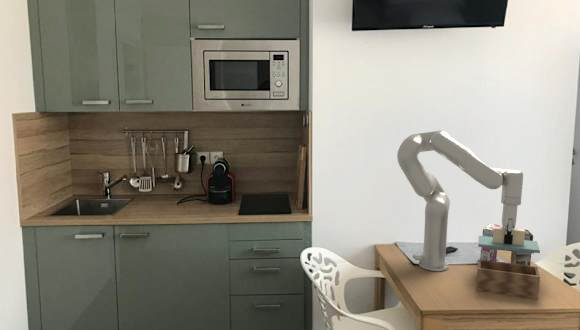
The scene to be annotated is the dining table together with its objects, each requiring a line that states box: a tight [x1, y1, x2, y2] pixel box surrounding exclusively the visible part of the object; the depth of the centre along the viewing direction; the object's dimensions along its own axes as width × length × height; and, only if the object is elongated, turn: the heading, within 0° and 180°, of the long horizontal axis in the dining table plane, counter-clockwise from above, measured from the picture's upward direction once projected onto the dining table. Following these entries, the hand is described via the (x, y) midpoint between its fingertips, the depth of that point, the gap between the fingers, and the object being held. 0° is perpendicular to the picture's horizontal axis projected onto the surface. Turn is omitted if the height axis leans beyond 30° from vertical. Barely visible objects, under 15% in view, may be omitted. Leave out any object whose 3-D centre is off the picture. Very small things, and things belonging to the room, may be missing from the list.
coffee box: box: [510, 229, 534, 266], centre depth 222 cm, size 9×6×16 cm
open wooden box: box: [475, 258, 541, 300], centre depth 199 cm, size 22×11×9 cm, turn 69°
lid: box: [477, 226, 541, 255], centre depth 210 cm, size 23×12×8 cm, turn 69°
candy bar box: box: [479, 223, 501, 261], centre depth 228 cm, size 11×5×16 cm, turn 144°
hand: (507, 242), depth 210 cm, fingers closed on lid, 3 cm apart
